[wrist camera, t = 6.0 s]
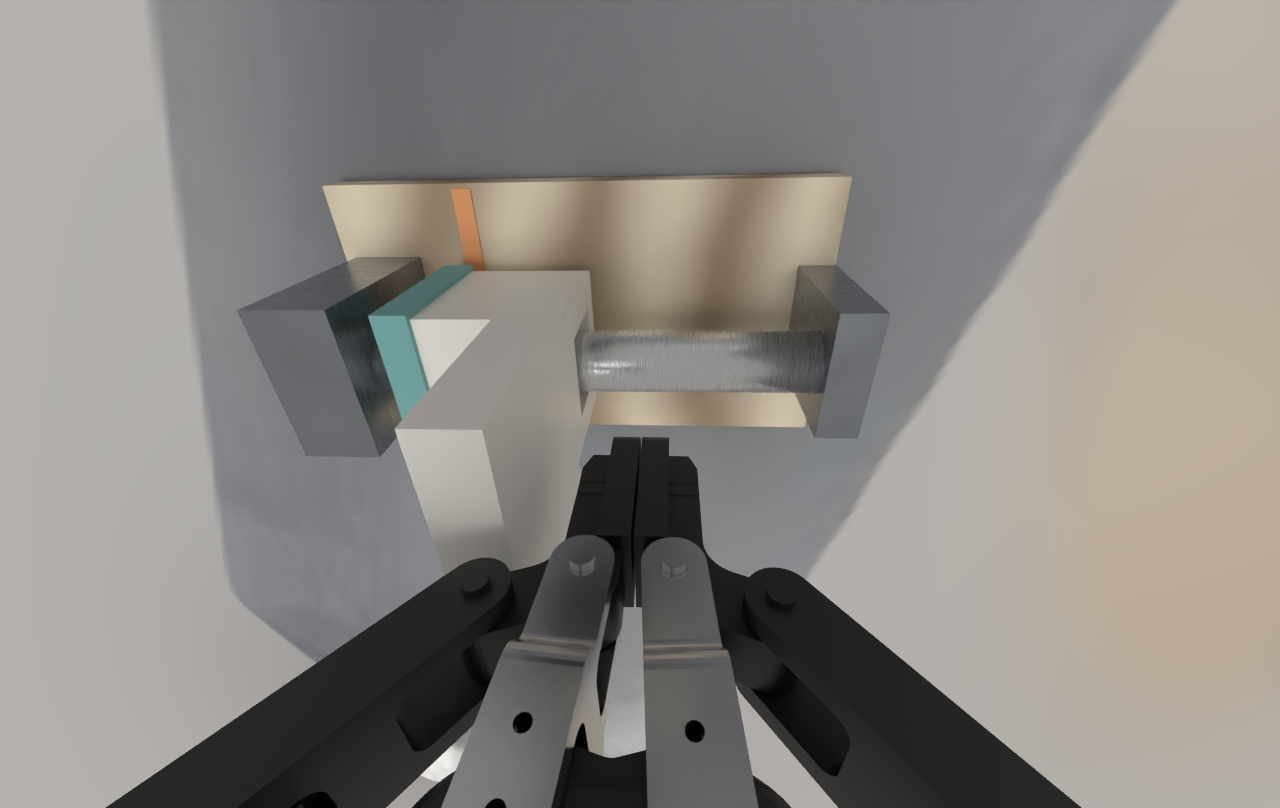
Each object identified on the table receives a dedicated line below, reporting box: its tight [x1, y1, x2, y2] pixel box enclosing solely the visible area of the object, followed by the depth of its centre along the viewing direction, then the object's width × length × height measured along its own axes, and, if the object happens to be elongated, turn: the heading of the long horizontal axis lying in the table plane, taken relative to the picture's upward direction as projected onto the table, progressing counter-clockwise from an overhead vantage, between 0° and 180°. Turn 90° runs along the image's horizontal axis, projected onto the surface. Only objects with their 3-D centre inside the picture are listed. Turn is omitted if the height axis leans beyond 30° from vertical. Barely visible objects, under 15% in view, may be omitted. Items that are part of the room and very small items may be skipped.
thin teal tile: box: [368, 265, 474, 420], centre depth 19 cm, size 1×6×6 cm, turn 1°
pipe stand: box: [237, 173, 890, 457], centre depth 20 cm, size 22×12×8 cm, turn 91°
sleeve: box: [395, 270, 597, 575], centre depth 16 cm, size 5×7×13 cm
